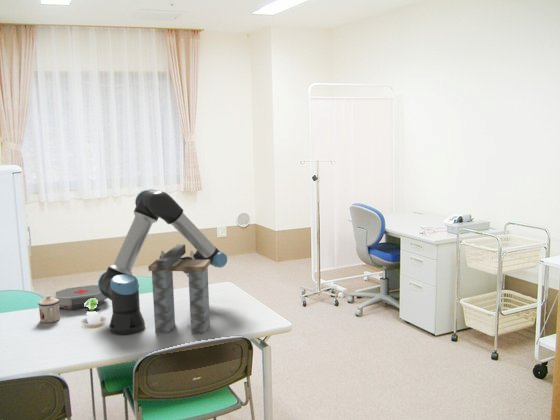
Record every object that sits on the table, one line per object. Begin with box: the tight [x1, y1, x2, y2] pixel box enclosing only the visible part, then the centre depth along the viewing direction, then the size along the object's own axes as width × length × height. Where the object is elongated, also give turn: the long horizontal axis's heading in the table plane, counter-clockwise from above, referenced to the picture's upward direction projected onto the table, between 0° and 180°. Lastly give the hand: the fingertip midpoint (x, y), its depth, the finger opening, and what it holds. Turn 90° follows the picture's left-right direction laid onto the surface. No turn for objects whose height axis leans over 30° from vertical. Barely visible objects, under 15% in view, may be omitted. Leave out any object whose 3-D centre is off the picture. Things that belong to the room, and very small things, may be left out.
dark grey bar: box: [156, 244, 186, 270], centre depth 236 cm, size 4×30×4 cm, turn 175°
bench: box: [148, 258, 211, 334], centre depth 237 cm, size 24×12×30 cm, turn 85°
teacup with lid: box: [37, 294, 61, 324], centre depth 251 cm, size 12×9×12 cm
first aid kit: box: [54, 284, 108, 310], centre depth 273 cm, size 18×8×25 cm
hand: (176, 253), depth 243 cm, fingers open, 13 cm apart
